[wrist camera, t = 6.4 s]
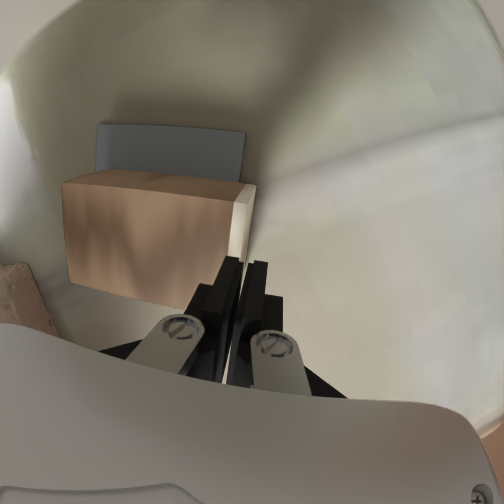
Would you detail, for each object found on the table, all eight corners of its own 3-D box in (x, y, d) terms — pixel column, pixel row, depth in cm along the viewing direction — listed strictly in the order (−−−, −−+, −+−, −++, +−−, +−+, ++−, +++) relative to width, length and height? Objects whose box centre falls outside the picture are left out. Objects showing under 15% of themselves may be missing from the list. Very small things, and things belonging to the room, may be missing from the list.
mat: (223, 308, 21) (223, 310, 21) (101, 282, 22) (99, 283, 21) (245, 133, 17) (245, 132, 16) (99, 124, 17) (97, 124, 17)
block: (232, 318, 15) (70, 282, 15) (243, 275, 20) (108, 251, 20) (247, 203, 13) (61, 182, 13) (256, 185, 17) (107, 168, 18)
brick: (-9, 265, 23) (-37, 284, 19) (31, 258, 22) (-2, 281, 18) (49, 381, 29) (32, 404, 25) (95, 390, 28) (77, 419, 24)
